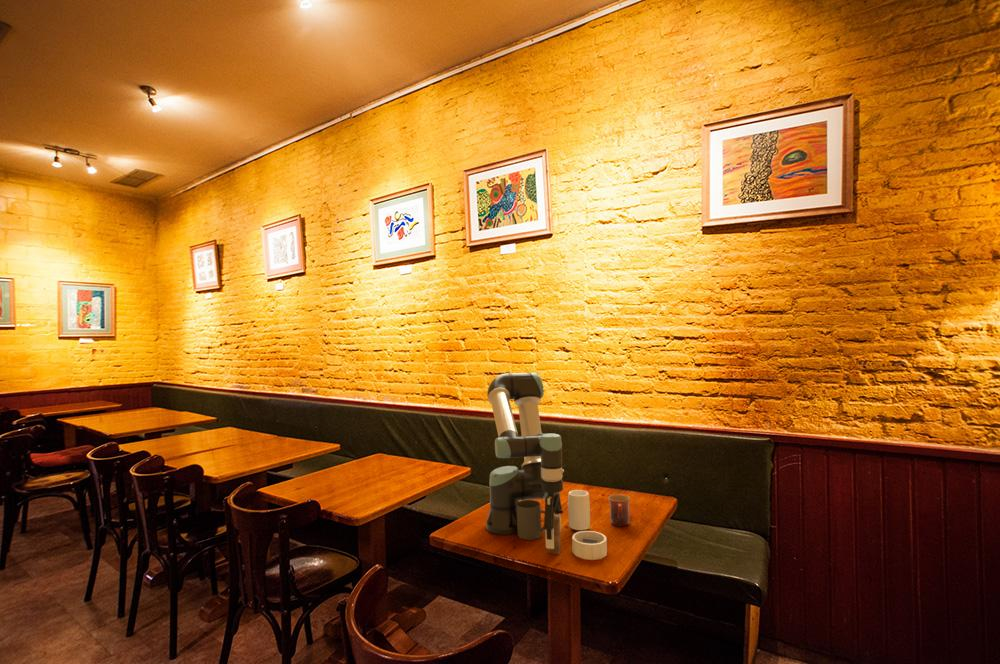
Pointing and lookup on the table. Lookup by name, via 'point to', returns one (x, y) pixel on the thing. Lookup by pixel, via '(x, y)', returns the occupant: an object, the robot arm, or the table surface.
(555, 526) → the tall brown wooden block
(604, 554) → the white round bowl
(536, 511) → the mug
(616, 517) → the mug
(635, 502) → the table surface
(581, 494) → the cup
